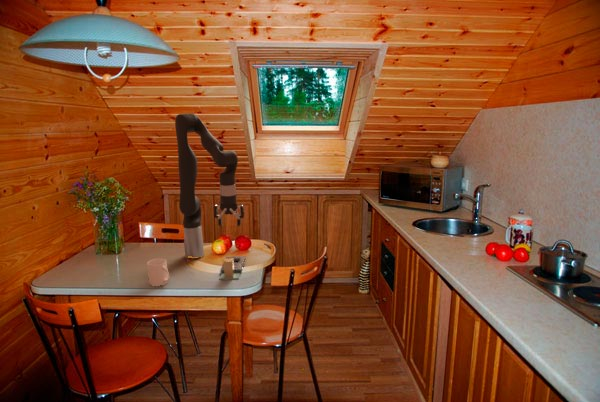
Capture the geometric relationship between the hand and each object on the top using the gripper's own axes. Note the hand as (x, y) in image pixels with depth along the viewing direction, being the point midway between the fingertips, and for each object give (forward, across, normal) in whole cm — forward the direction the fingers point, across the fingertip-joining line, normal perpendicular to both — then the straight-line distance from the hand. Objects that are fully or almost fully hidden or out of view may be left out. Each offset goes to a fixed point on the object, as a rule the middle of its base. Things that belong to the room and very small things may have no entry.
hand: (229, 226), depth 204 cm
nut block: (+22, +1, -8) cm, 24 cm away
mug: (+24, -30, -15) cm, 41 cm away
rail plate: (+23, 0, +3) cm, 23 cm away
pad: (+23, +1, -8) cm, 24 cm away
